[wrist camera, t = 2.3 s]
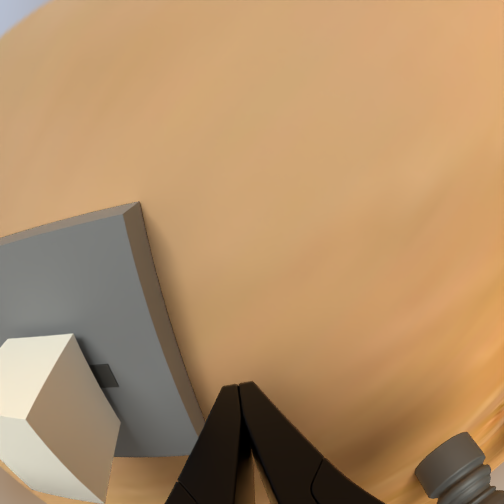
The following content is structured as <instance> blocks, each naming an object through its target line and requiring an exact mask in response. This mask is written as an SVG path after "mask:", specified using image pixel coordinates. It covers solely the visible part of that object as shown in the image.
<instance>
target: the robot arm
mask: <svg viewBox="0 0 504 504" xmlns="http://www.w3.org/2000/svg"><path fill="white" fill-rule="evenodd" d="M251 449H252V450H251ZM252 453H253V456H254V459H255V462H256V465H257V468H258V471H259V473H260V476H261V479H262V481H263V484H264V487H265V489H266V492H267V494H268V497H269V500H270V502H271V504H385V503H384V502H382V501H380V500H379V499H377V498H376V497H374V496H373V495H371V494H369V493H368V492H366V491H365V490H363V489H362V488H361V487H359V486H358V485H356V484H355V483H354V482H352V481H351V480H350V479H348V478H347V477H346V476H345V475H344V474H343V473H341V472H340V471H339V470H338V469H337V468H336V467H335V466H334V465H333V464H332V463H331V462H330V461H328V460H327V459H326V458H324V456H323V455H322V454H321V453H320V452H319V451H318V450H317V449H316V448H315V447H314V446H313V445H312V444H311V443H310V442H309V441H308V440H307V439H306V438H305V437H304V436H303V435H302V434H301V433H300V432H299V431H298V429H297V428H296V427H295V426H294V425H293V424H292V423H291V422H290V421H289V420H288V419H287V418H286V417H285V416H284V415H283V414H282V413H281V411H280V410H279V409H278V408H277V407H276V406H275V405H274V404H273V403H272V402H271V401H270V399H269V398H268V397H267V396H266V395H265V394H264V393H263V392H262V390H261V389H260V388H259V387H258V386H257V385H256V384H255V383H254V382H253V381H250V382H244V383H240V384H239V385H237V384H232V385H226V386H223V387H222V388H221V391H220V393H219V395H218V397H217V399H216V401H215V403H214V405H213V408H212V410H211V412H210V414H209V416H208V418H207V420H206V422H205V424H204V427H203V429H202V431H201V433H200V435H199V437H198V439H197V441H196V443H195V445H194V447H193V449H192V451H191V453H190V455H189V458H188V460H187V462H186V464H185V466H184V468H183V470H182V472H181V474H180V476H179V478H178V482H176V483H175V485H174V487H173V489H172V491H171V493H170V495H169V497H168V499H167V501H166V502H165V504H255V490H254V472H253V457H252Z"/></svg>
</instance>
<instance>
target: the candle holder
mask: <svg viewBox="0 0 504 504" xmlns="http://www.w3.org/2000/svg"><path fill="white" fill-rule="evenodd" d="M484 459H485V455H484V453H483V452H482V450H481V449H480V448H479V447H478V445H477V444H476V443H475V441H474V440H473V439H472V438H471V436H470V435H469V434H468V432H464V433H460V434H458V435H456V436H454V437H452V438H451V439H449V440H448V441H446V442H445V443H443V444H442V445H440V446H439V447H438V448H437V449H435V450H434V451H433V452H431V453H430V454H429V455H428V456H427V457H426V458H425V459H424V460H423V461H422V462H421V463H420V464H419V466H418V467H417V468H416V471H415V475H416V476H417V478H418V480H419V481H420V483H421V485H422V487H423V488H424V490H425V492H426V493H427V495H428V497H429V498H432V499H434V498H438V502H437V504H504V491H502V490H495V489H496V487H495V486H490V484H489V483H490V478H491V477H490V473H491V468H490V466H489V465H488V464H487V465H483V461H484Z"/></svg>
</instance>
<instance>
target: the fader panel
mask: <svg viewBox="0 0 504 504" xmlns="http://www.w3.org/2000/svg"><path fill="white" fill-rule="evenodd" d="M72 333H73V334H74V336H75V338H76V341H77V343H78V345H79V347H80V349H81V351H82V353H83V355H84V357H85V359H86V361H87V363H88V365H89V367H90V369H91V371H92V373H93V375H94V377H95V379H96V381H97V383H98V384H99V386H100V388H101V390H102V392H103V393H104V395H105V397H106V399H107V400H108V402H109V404H110V405H111V407H112V409H113V410H114V412H115V414H116V415H117V417H118V419H119V420H120V422H121V424H120V428H119V433H118V437H117V442H116V447H115V451H114V456H113V457H167V456H184V455H190V453H191V451H192V449H193V447H194V445H195V443H196V441H197V439H198V437H199V435H200V433H201V431H202V429H203V427H204V424H205V420H204V417H203V415H202V412H201V410H200V407H199V405H198V402H197V399H196V397H195V394H194V391H193V389H192V386H191V383H190V380H189V378H188V375H187V372H186V369H185V366H184V363H183V360H182V357H181V354H180V351H179V348H178V345H177V342H176V339H175V336H174V333H173V330H172V326H171V323H170V320H169V317H168V313H167V310H166V306H165V303H164V299H163V296H162V292H161V289H160V285H159V282H158V278H157V274H156V270H155V266H154V262H153V259H152V255H151V250H150V246H149V242H148V238H147V234H146V229H145V225H144V220H143V216H142V211H141V206H140V202H134V203H130V204H125V205H121V206H116V207H112V208H108V209H104V210H99V211H95V212H91V213H87V214H83V215H79V216H75V217H72V218H68V219H64V220H60V221H57V222H53V223H49V224H46V225H42V226H39V227H35V228H32V229H28V230H25V231H22V232H18V233H15V234H12V235H9V236H5V237H2V238H0V347H1V346H2V345H3V344H4V343H5V341H6V340H7V339H11V338H26V337H39V336H51V335H62V334H72Z"/></svg>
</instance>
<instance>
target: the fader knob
mask: <svg viewBox="0 0 504 504" xmlns="http://www.w3.org/2000/svg"><path fill="white" fill-rule="evenodd" d="M120 424H121V422H120V420H119V419H118V417H117V415H116V414H115V412H114V410H113V409H112V407H111V405H110V404H109V402H108V400H107V399H106V397H105V395H104V393H103V392H102V390H101V388H100V386H99V384H98V383H97V381H96V379H95V377H94V375H93V373H92V371H91V369H90V367H89V365H88V363H87V361H86V359H85V357H84V355H83V353H82V351H81V349H80V347H79V345H78V343H77V341H76V338H75V336H74V334H73V333H72V334H62V335H51V336H39V337H26V338H11V339H7V340H6V341H5V343H4V344H3V345H2V346H1V347H0V459H1V460H2V461H3V462H4V463H5V464H6V465H7V466H8V467H9V468H10V469H11V470H12V471H13V472H14V473H15V474H16V475H17V476H18V477H19V478H20V479H21V480H22V481H23V482H24V483H25V484H27V485H28V486H29V487H30V488H31V489H32V490H35V491H39V492H43V493H47V494H51V495H56V496H60V497H65V498H70V499H76V500H81V501H88V502H94V503H102V504H105V501H106V495H107V489H108V483H109V477H110V472H111V467H112V461H113V456H114V451H115V447H116V442H117V437H118V433H119V428H120Z"/></svg>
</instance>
